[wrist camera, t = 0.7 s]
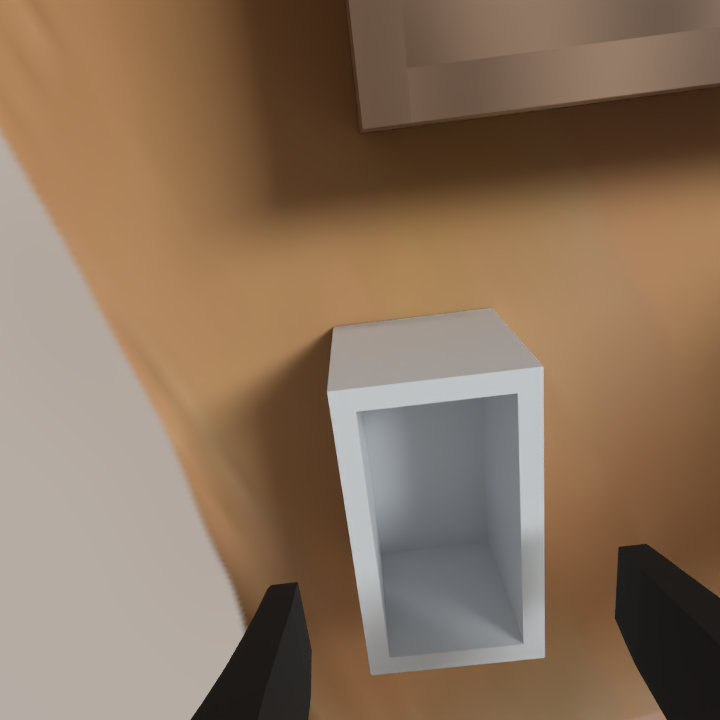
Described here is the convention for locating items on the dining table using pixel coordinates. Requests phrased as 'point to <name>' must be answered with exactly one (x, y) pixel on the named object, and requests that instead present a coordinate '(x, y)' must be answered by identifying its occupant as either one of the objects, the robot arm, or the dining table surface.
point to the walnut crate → (522, 55)
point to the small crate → (442, 488)
